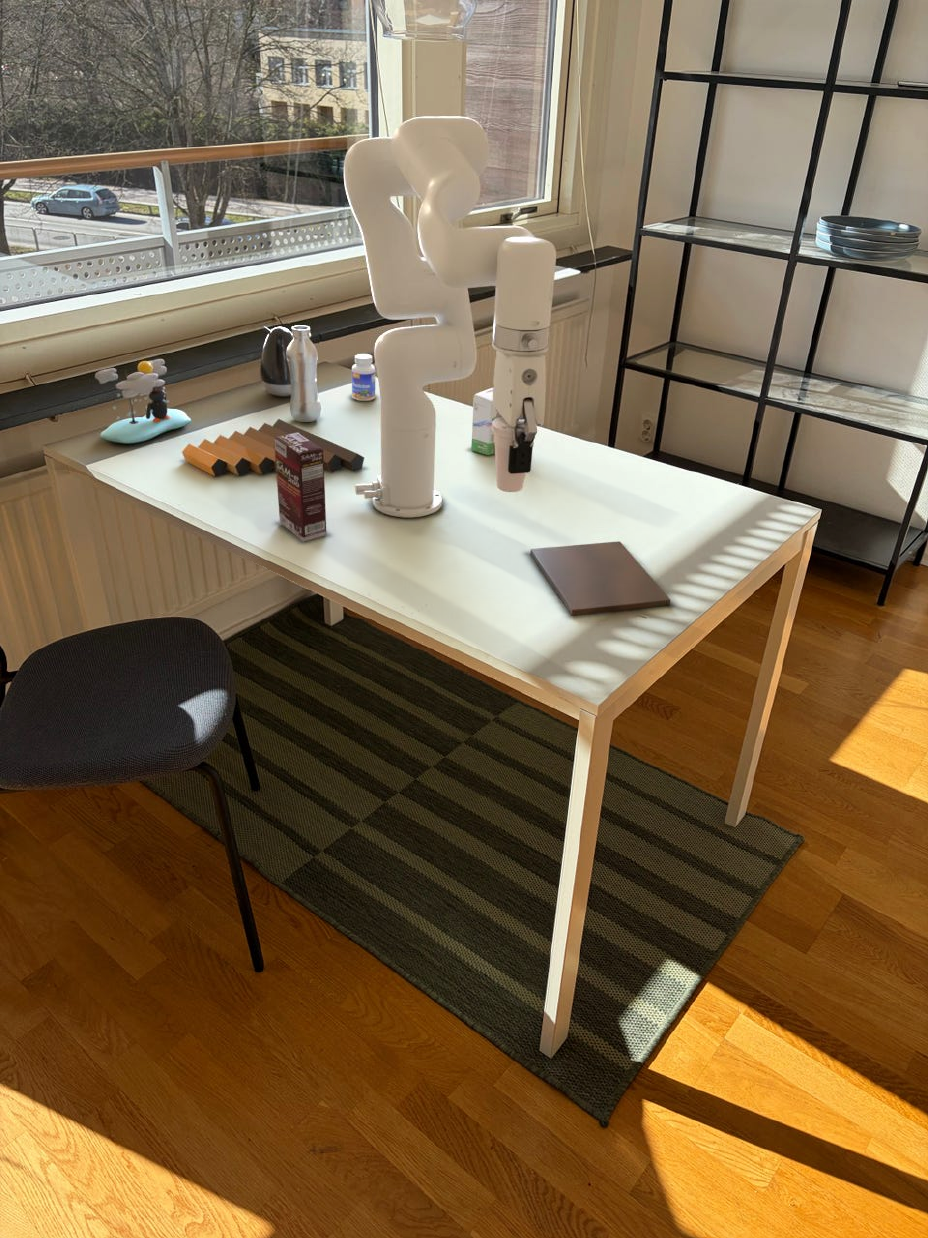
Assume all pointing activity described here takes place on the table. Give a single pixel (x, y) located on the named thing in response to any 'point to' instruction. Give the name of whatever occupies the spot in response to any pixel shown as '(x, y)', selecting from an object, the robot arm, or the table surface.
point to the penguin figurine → (157, 412)
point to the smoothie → (505, 456)
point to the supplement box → (300, 486)
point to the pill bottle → (363, 378)
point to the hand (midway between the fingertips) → (511, 461)
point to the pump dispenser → (276, 362)
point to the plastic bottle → (303, 376)
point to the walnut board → (598, 578)
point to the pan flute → (262, 451)
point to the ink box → (483, 422)
